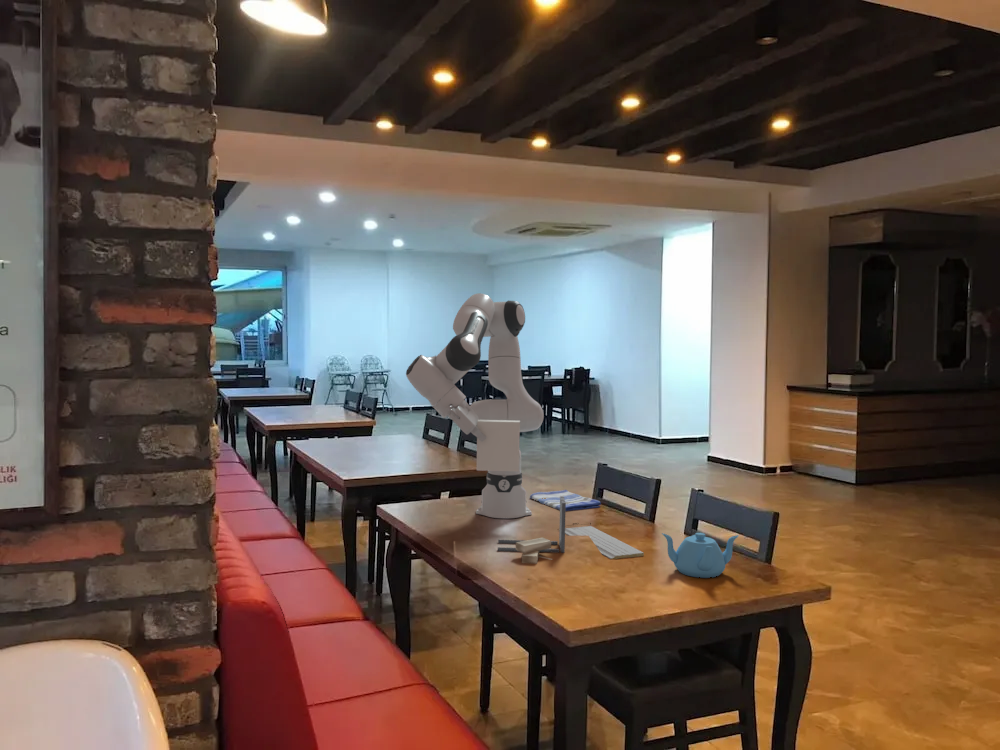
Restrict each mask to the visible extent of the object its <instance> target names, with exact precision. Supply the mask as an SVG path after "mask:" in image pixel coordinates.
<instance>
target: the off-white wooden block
mask: <svg viewBox="0 0 1000 750" xmlns="http://www.w3.org/2000/svg"><path fill="white" fill-rule="evenodd" d="M477 428H478V429H479V430H480V431H481V432H482V433H483V434H484V435H485V436H486V439H485V440H484V441H480V440H479V439H478V438H477V437H476V470H475V471H481V472H482V471H483V472H484V471H485V472H488V471H519V449H520V440H521V439H520V433H521V432H520V421H516V420H478V421H477Z"/></svg>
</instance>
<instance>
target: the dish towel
mask: <svg viewBox="0 0 1000 750" xmlns="http://www.w3.org/2000/svg"><path fill="white" fill-rule="evenodd" d="M560 496H563V497H564V499H565V502H566V512H571V511H579V510H589V509H598V508H601V505H602V503H601V501H600V500H598V499H595V498H590V497H587V496H586V497H585V496H582V495H581V494H578V493H574V492H570V491H568V490H567V489H563V490H555V491H554V490H553V491H537V492H533V493H531V494H530V495H529V499H530V500H532V499H534V500H533V501H535V500H537V501H539V502H540V503H539V502H538V503H539V504H542V505H544V504H545V506H548V507H549V508H553V509H555V510H559V511H560ZM542 498H543V499H542ZM544 498H546V499H544ZM537 501H536V502H537Z"/></svg>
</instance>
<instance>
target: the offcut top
mask: <svg viewBox="0 0 1000 750" xmlns="http://www.w3.org/2000/svg"><path fill="white" fill-rule="evenodd" d="M551 541H552V540H550V539H547V538H545V537H537V538H533V539H528V540H526V541H521V542H516V544H515V548H516V550H518V551H520V553H522V552H523V553H529V552H534V551H539V550H544V549H552V545H551Z"/></svg>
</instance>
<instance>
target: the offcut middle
mask: <svg viewBox="0 0 1000 750" xmlns="http://www.w3.org/2000/svg"><path fill="white" fill-rule="evenodd" d="M539 554H540V552H539V551H534V552H529V553H522V552H521V564H531V565H533V564H535V565H536V564H538V561H539V557H538V556H540V555H539Z"/></svg>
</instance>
